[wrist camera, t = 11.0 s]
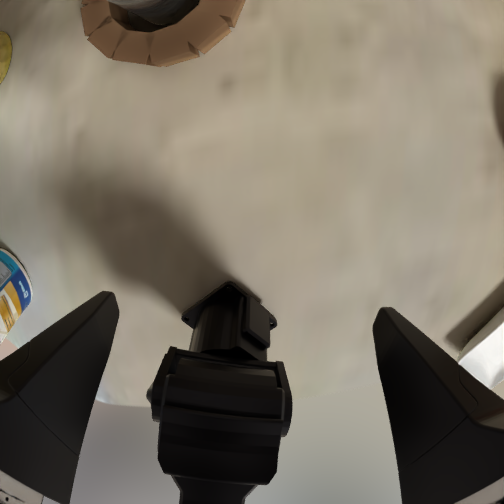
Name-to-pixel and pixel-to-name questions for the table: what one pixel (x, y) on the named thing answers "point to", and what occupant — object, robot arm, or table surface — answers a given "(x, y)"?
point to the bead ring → (158, 32)
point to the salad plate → (486, 353)
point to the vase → (4, 54)
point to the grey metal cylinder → (158, 9)
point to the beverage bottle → (12, 291)
